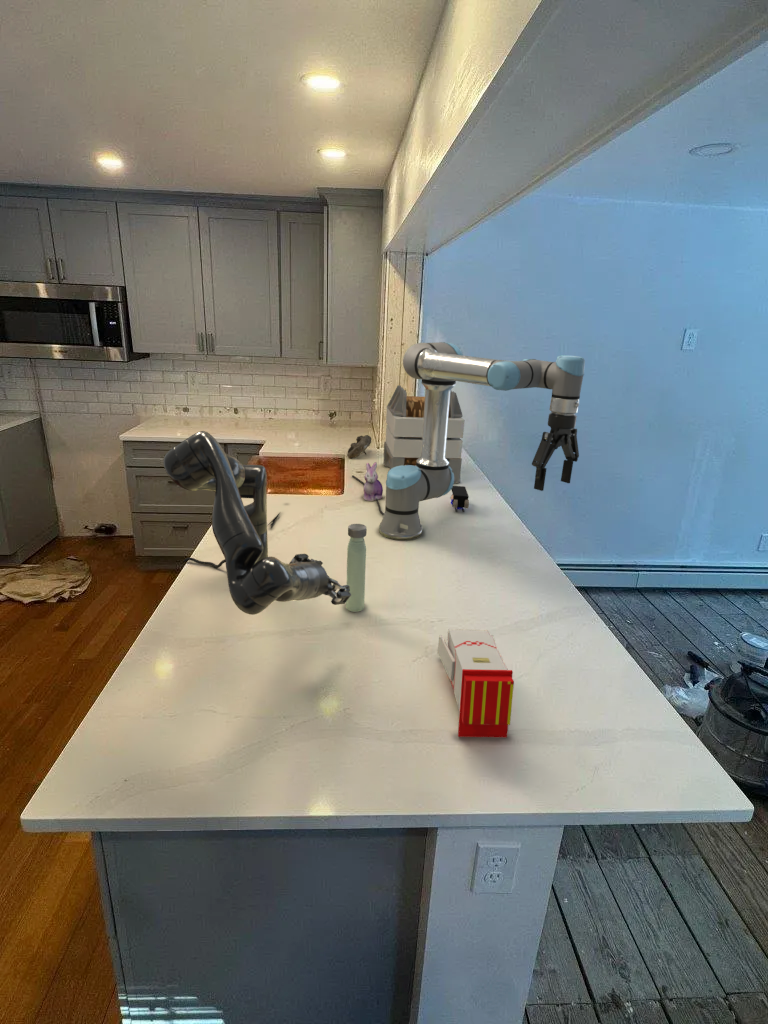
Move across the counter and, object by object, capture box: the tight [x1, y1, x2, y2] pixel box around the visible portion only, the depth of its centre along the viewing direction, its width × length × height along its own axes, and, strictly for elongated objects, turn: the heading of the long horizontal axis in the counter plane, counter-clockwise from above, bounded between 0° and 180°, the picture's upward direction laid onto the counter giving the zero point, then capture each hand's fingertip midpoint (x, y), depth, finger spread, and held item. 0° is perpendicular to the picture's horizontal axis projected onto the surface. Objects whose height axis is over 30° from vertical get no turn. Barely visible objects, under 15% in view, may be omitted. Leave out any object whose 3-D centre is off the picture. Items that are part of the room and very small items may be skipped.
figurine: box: [362, 461, 384, 502], centre depth 233 cm, size 9×10×15 cm
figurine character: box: [450, 485, 470, 513], centre depth 227 cm, size 7×8×15 cm
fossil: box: [347, 434, 372, 459], centre depth 303 cm, size 22×10×15 cm
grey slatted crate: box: [383, 384, 465, 484], centre depth 268 cm, size 34×33×41 cm
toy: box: [437, 628, 515, 738], centre depth 117 cm, size 12×13×30 cm
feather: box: [267, 512, 281, 529], centre depth 211 cm, size 2×28×2 cm
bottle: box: [345, 536, 367, 613], centre depth 146 cm, size 5×5×22 cm
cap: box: [347, 523, 367, 538], centre depth 142 cm, size 5×5×2 cm
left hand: (333, 577), depth 129 cm, fingers open, 8 cm apart
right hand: (552, 485), depth 166 cm, fingers open, 13 cm apart
